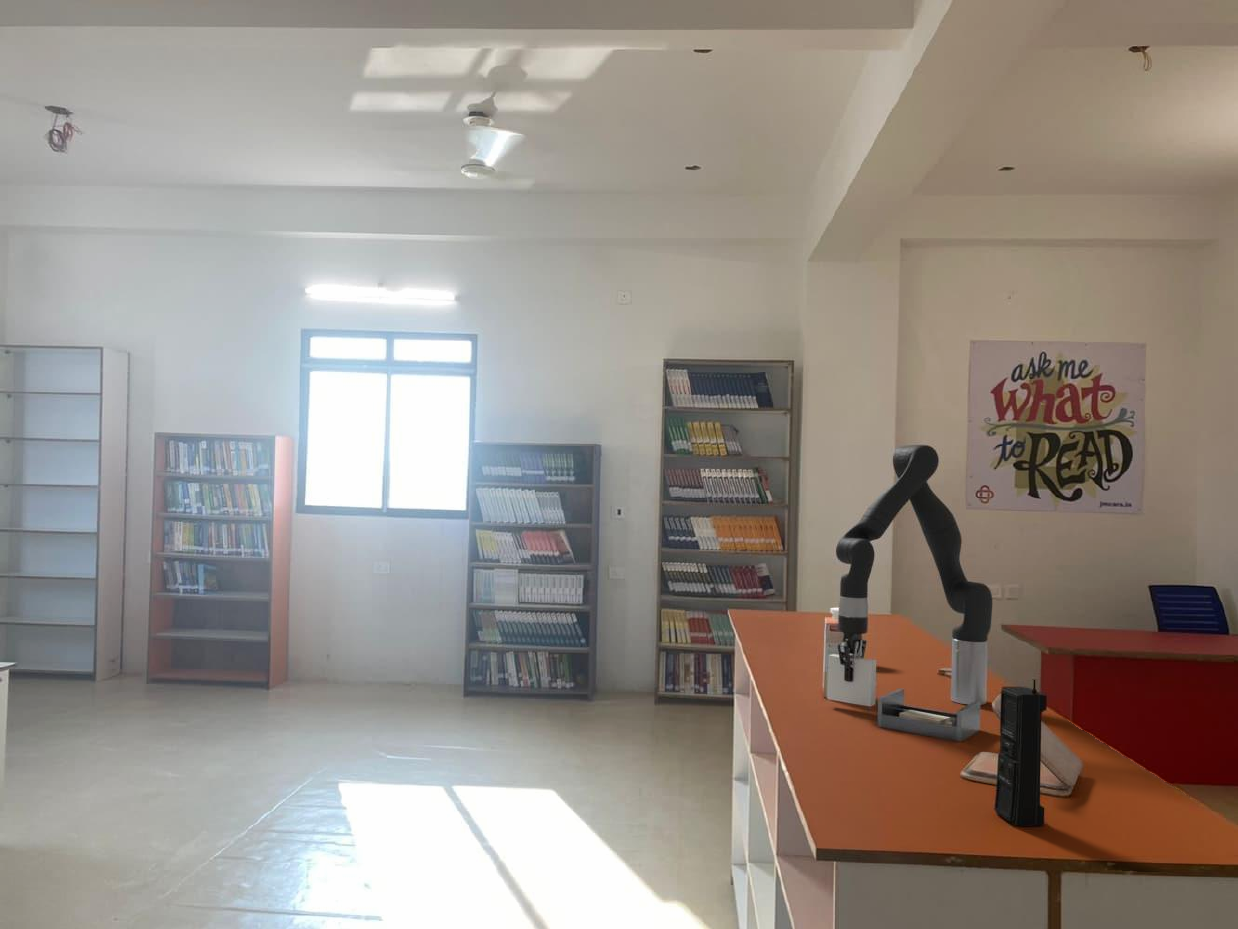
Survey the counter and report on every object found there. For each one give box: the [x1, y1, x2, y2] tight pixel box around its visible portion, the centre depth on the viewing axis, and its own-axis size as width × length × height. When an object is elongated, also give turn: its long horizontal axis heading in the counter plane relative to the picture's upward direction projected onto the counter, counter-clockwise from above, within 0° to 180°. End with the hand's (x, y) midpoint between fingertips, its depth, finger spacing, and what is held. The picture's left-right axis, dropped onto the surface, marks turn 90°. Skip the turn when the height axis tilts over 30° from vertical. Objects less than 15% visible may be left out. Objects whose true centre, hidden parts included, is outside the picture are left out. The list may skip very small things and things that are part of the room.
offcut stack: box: [899, 710, 952, 726], centre depth 227 cm, size 6×11×4 cm, turn 49°
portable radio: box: [993, 679, 1048, 827], centre depth 166 cm, size 8×6×25 cm
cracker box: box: [822, 616, 844, 699], centre depth 266 cm, size 14×6×21 cm, turn 168°
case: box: [959, 693, 1084, 798], centre depth 191 cm, size 20×21×16 cm
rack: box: [877, 688, 982, 742], centre depth 229 cm, size 15×20×7 cm
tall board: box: [826, 654, 877, 708], centre depth 246 cm, size 3×12×12 cm, turn 53°
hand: (851, 680), depth 246 cm, fingers closed on tall board, 3 cm apart
